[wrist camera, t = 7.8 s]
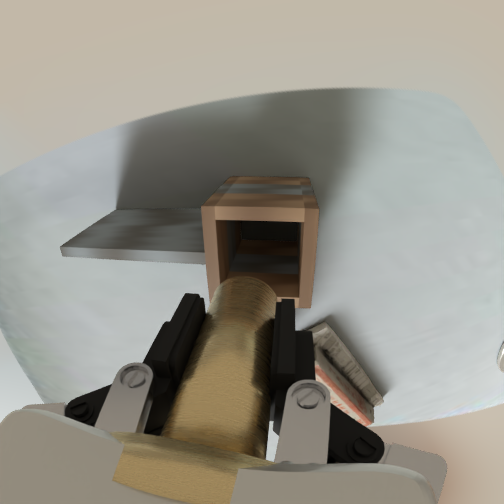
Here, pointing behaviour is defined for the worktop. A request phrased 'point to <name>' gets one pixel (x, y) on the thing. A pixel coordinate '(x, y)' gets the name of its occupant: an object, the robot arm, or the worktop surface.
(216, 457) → the hinge pin
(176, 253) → the hinge
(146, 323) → the worktop surface
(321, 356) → the packaged product
